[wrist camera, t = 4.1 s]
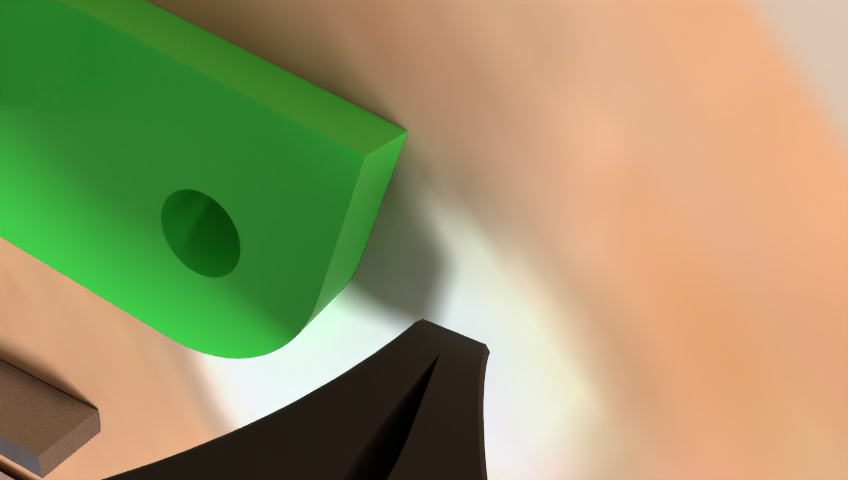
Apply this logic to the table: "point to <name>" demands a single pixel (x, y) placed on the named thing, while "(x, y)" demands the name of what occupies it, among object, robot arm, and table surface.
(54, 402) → the grey frame
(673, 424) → the table surface
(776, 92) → the table surface
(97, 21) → the mechanical part
